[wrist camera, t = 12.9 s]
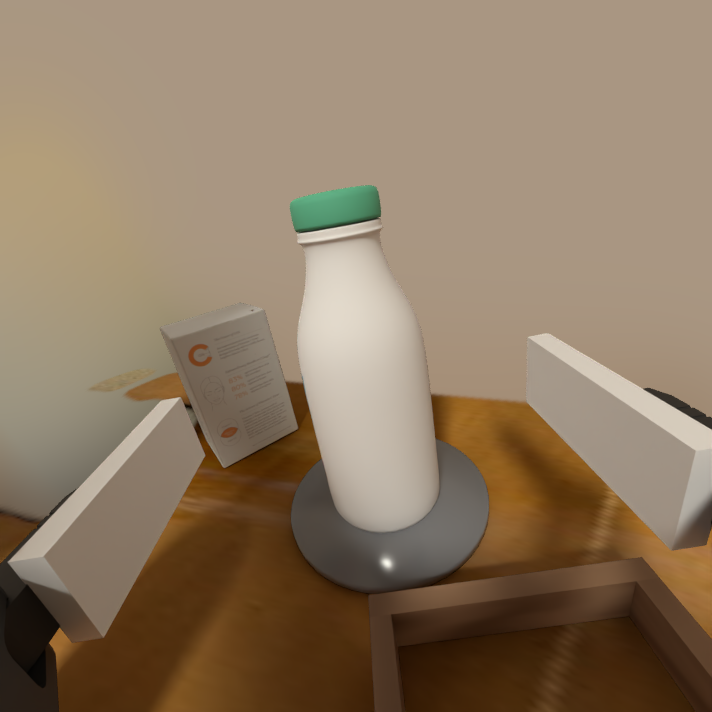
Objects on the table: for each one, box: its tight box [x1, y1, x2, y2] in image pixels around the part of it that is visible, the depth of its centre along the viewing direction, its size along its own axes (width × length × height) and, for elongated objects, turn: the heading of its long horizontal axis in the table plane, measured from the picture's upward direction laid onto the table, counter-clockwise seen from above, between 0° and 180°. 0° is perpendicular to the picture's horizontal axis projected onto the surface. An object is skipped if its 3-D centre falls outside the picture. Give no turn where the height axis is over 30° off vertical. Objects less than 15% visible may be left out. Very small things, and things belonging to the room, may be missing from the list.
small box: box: [160, 303, 298, 468], centre depth 34 cm, size 8×6×13 cm
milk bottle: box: [290, 185, 440, 533], centre depth 22 cm, size 8×8×20 cm
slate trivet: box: [291, 439, 489, 594], centre depth 26 cm, size 14×14×1 cm
